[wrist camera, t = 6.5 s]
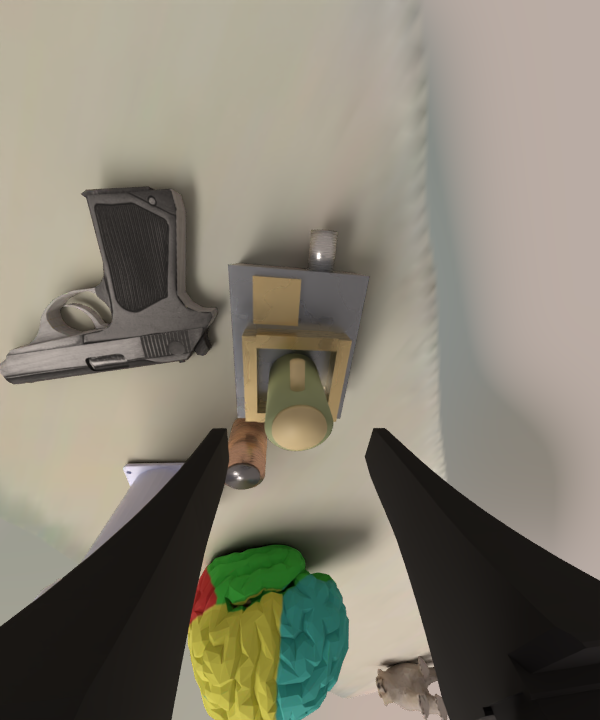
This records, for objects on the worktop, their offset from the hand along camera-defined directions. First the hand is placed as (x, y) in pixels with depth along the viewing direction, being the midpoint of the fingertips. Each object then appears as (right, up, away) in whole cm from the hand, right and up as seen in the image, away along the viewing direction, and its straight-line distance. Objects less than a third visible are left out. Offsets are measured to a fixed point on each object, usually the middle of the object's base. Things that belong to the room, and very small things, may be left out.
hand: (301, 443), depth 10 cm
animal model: (+39, -110, +70) cm, 136 cm away
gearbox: (-1, +7, +8) cm, 11 cm away
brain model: (-5, -31, +27) cm, 41 cm away
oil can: (-1, +3, +6) cm, 7 cm away
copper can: (-6, -3, +13) cm, 14 cm away
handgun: (-16, +9, +6) cm, 20 cm away
